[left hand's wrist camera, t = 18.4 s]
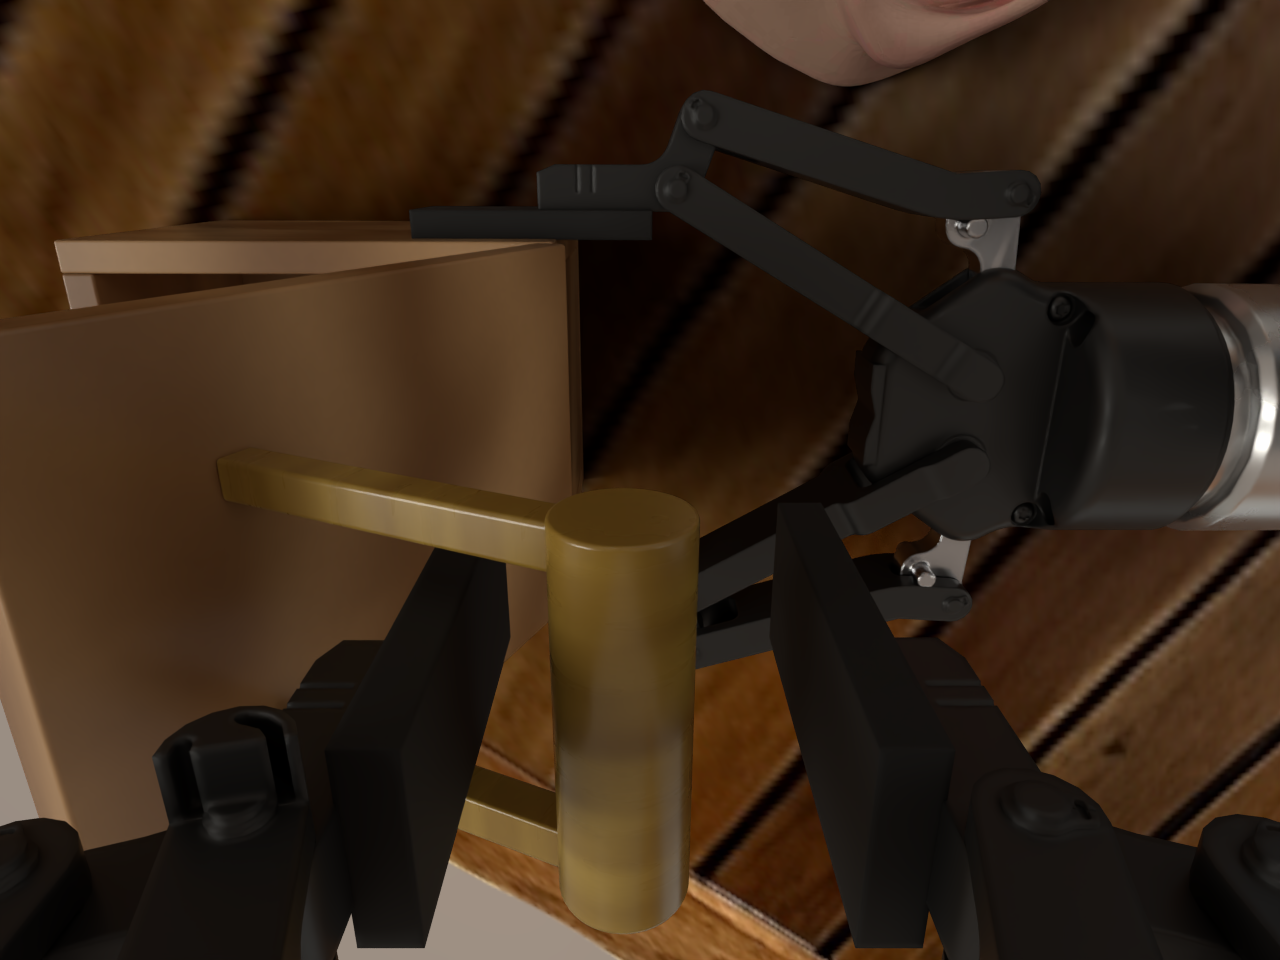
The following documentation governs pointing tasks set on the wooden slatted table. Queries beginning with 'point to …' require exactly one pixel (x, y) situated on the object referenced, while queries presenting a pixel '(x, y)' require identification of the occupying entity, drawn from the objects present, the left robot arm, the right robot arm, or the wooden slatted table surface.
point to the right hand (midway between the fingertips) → (438, 406)
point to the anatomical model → (864, 32)
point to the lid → (336, 544)
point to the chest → (280, 268)
